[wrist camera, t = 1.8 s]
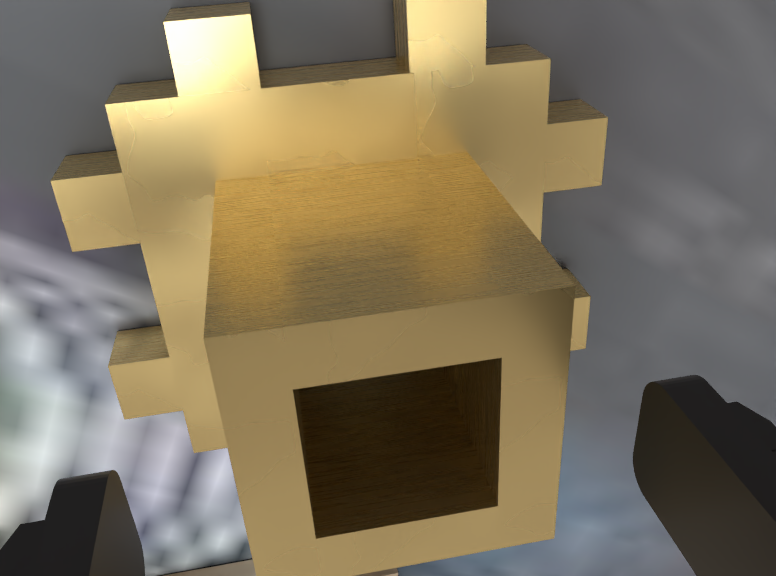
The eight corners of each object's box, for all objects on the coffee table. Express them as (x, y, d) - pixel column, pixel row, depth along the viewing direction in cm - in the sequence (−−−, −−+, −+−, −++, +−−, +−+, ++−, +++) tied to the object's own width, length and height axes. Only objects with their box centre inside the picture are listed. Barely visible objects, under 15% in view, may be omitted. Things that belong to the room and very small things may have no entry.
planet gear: (590, -29, 16) (827, 40, 9) (557, 396, 22) (689, 615, 15) (26, 21, 14) (-145, 141, 8) (155, 462, 20) (117, 732, 14)
